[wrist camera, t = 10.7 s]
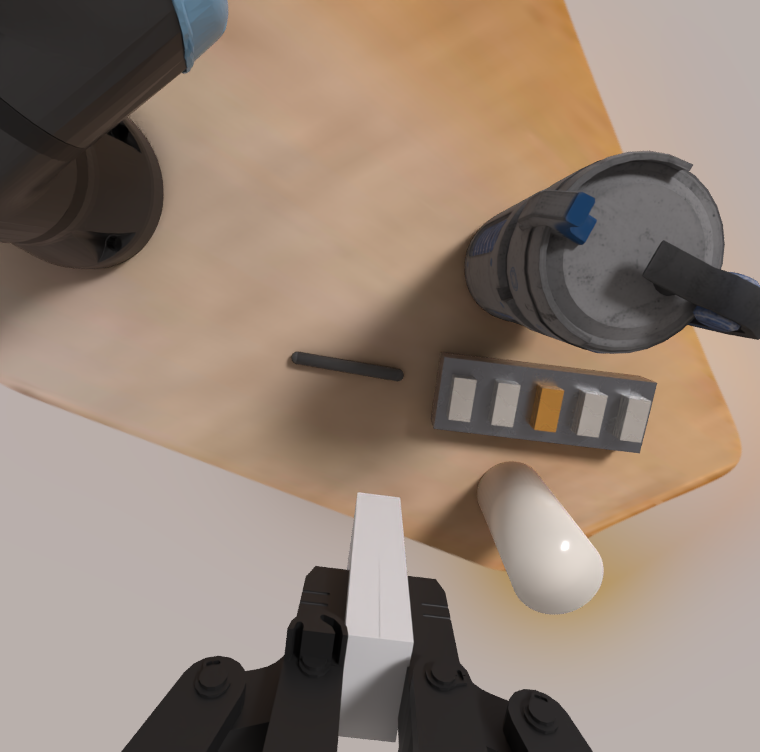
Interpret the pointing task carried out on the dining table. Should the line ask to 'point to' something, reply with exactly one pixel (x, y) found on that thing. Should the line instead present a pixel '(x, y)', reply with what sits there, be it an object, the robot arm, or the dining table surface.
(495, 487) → the white glossy cylinder
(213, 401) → the dining table surface
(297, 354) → the dark gray rod
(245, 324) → the dining table surface
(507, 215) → the beverage bottle
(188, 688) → the robot arm
